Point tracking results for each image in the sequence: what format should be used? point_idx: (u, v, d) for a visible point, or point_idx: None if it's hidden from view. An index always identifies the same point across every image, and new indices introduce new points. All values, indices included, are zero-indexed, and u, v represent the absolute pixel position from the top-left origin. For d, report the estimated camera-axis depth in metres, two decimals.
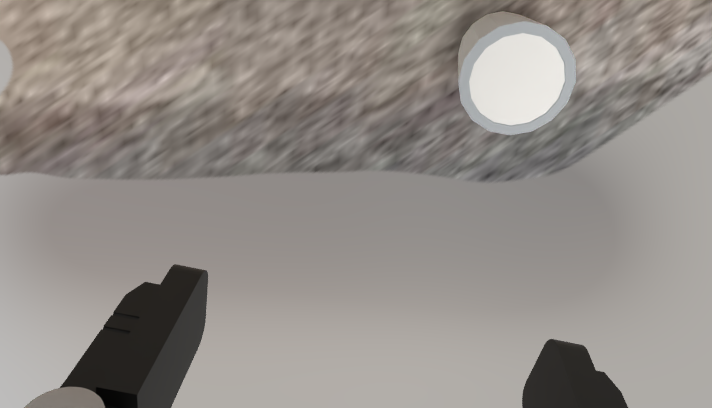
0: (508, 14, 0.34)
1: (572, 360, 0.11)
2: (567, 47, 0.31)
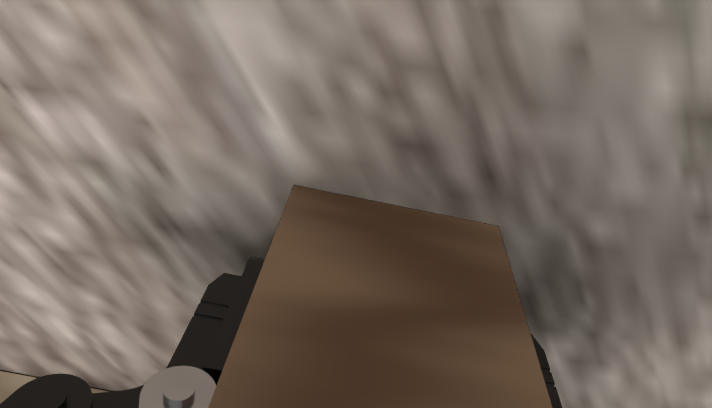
0: None
1: None
2: None
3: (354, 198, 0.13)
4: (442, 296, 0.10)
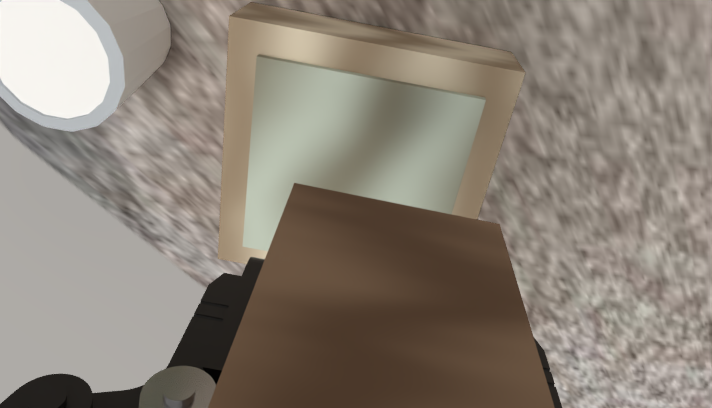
0: (155, 33, 0.27)
1: None
2: (106, 114, 0.25)
3: (355, 196, 0.13)
4: (444, 293, 0.10)
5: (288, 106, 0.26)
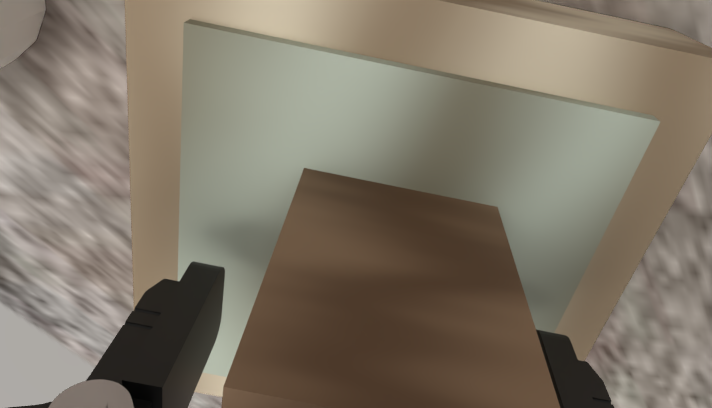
0: None
1: (555, 349, 0.12)
2: None
3: (361, 180, 0.13)
4: (445, 267, 0.11)
5: (252, 126, 0.13)
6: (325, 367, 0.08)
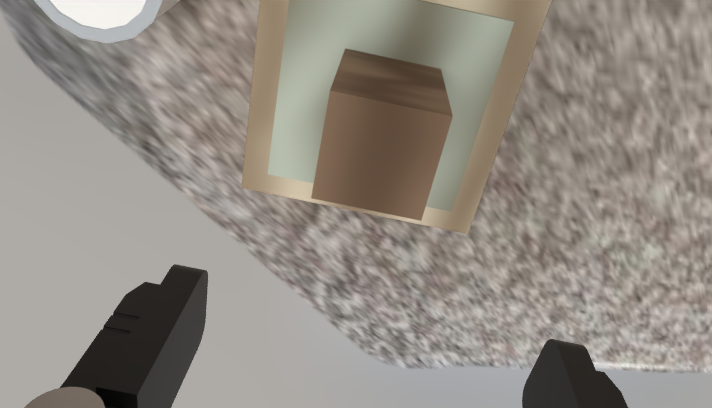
0: None
1: (572, 360, 0.11)
2: (144, 25, 0.25)
3: (373, 54, 0.27)
4: (412, 79, 0.25)
5: (321, 26, 0.27)
6: (364, 92, 0.22)
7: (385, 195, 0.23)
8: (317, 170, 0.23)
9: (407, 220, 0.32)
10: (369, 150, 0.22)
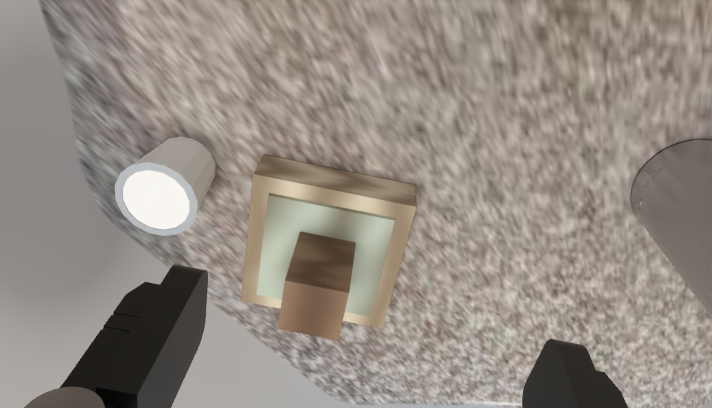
0: (209, 176, 0.47)
1: (572, 360, 0.11)
2: (185, 228, 0.45)
3: (316, 235, 0.47)
4: (334, 259, 0.44)
5: (285, 220, 0.46)
6: (303, 278, 0.41)
7: (317, 327, 0.43)
8: (280, 315, 0.43)
9: (344, 320, 0.52)
10: (307, 307, 0.42)
